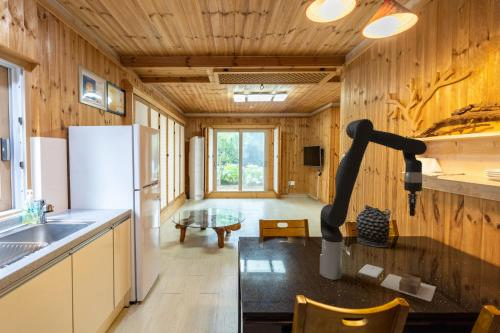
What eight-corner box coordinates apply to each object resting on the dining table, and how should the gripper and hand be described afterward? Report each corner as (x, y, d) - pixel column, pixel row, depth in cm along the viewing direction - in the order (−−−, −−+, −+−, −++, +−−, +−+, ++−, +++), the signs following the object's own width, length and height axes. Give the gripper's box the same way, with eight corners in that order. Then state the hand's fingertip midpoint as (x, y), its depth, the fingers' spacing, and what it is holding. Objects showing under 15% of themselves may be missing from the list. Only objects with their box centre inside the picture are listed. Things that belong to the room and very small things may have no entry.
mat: (380, 286, 110) (380, 285, 110) (389, 274, 121) (389, 273, 121) (430, 303, 98) (430, 301, 98) (435, 288, 109) (436, 286, 109)
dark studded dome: (391, 243, 164) (392, 205, 164) (388, 250, 152) (390, 209, 151) (357, 237, 176) (358, 202, 175) (352, 244, 164) (353, 205, 163)
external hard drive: (357, 275, 121) (366, 266, 131) (376, 280, 116) (383, 271, 125) (358, 271, 121) (366, 263, 131) (376, 277, 116) (383, 268, 125)
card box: (404, 281, 113) (399, 290, 106) (404, 273, 113) (399, 281, 106) (420, 286, 109) (416, 295, 102) (420, 278, 109) (416, 286, 102)
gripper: (404, 179, 133) (403, 212, 134) (403, 181, 122) (402, 217, 123) (421, 180, 129) (420, 214, 130) (422, 182, 118) (421, 219, 119)
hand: (412, 215), depth 126 cm, fingers closed
